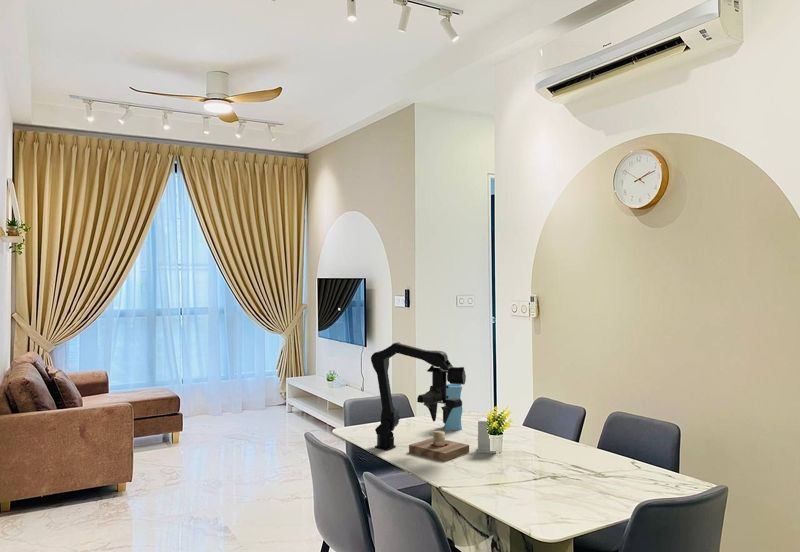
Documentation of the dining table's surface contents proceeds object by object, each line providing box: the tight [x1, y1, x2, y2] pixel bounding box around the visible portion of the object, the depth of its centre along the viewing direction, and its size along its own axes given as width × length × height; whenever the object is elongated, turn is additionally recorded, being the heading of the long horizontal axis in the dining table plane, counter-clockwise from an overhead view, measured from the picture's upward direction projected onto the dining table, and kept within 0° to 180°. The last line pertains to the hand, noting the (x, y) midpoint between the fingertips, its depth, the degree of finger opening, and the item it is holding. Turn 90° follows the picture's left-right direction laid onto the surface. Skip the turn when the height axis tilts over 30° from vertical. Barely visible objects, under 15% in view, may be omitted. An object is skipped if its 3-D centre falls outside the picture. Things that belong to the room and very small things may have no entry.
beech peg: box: [432, 430, 446, 448], centre depth 242 cm, size 5×5×8 cm
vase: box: [444, 383, 463, 431], centre depth 283 cm, size 8×8×20 cm
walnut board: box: [408, 437, 470, 462], centre depth 242 cm, size 18×16×3 cm
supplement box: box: [477, 417, 497, 454], centre depth 245 cm, size 7×7×13 cm
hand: (439, 422), depth 242 cm, fingers open, 5 cm apart
